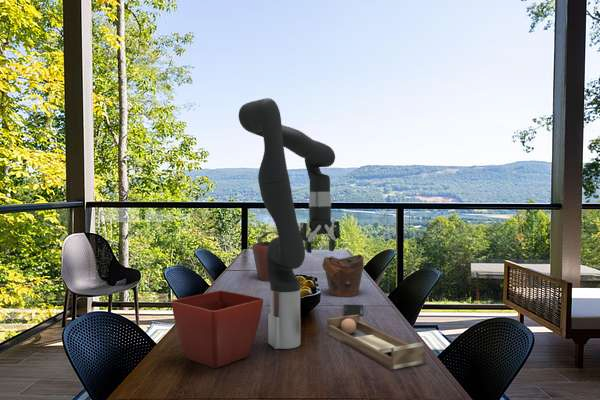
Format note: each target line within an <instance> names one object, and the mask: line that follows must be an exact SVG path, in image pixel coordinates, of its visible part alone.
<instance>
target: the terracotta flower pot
mask: <svg viewBox="0 0 600 400" xmlns="http://www.w3.org/2000/svg"><path fill="white" fill-rule="evenodd" d="M364 265H365V264H364V256H363V254H356V255H354V256H349V257H343V258H342V257H341V258H338V257H335V256H332V255H331V256H329V257H328V256H325V257H324V258H323V262H322V269H323V270H324V271H325V277H326V281H327V282H326V283H327V287H328V291H329V292H328V293H329V295H331V296H335V297H346V298H347V297H355V296H357V295H359V292H360V291H359V290H360V286H361V281H362V275H363V272H364Z"/></svg>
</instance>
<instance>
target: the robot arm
mask: <svg viewBox="0 0 600 400" xmlns="http://www.w3.org/2000/svg"><path fill="white" fill-rule="evenodd" d="M238 121H239V123H240V125H241V127H242V128H243V129H244V130H245V131H247V132H249V133H251V134H253V135H256V136H259V137H261V138H263V143H264V144H263V145H264V148H263V149H264V152H263V156H262V158H261V159H262V160H261V162H260V166H259V169H258V174H257V181H258V187H259V192H260V196H261V199H262V201H263V202H262V203H263V205H264V207H265V208H266V210H267V211H268V214H269V215H270V217H271V218H272V220H273V223H274V225H275V227H276V232H278V235H277V237H274V238H273V239H272V240H270V241H269V242H270V244H269V246H268V250H267V270H268V280H269V281H268V282H269V284H270V285H269V287H270V288H269V289H270V312H269V313H268V314H267V322H268V325H267V329H268V330H267V331H268V332H267V343H268V345H270V346H271V347H272V348H273V349H275V350H278V349H283V350H291V349H294V348H297V347H299V346H300V345H301V281H300V279H299V278H298V277H297V275H295V273H294V270H295V269H298V268H300V267H301V266H302V265H303V263H304V261H305V258H306V253H308V254H311V253H312V251H313V250H312V248H313V247H312V246H313V245H312V242H311V241H312V240H313V238H314V237H315V236H316V235H325V236H327V238H328V239H329V240H328V251H330V252H334V251H335V249H336V240H337V239H340V237H341V230H340V228H341V227H340V221H338V220H333V221H332V220H331V218H332V195H331V179H330V176H329V175H328V174H324V173H322V172H321V169H320V168H327V167H331V166H333V164H334V163H335V161H336V155H335V151H334V149H332V147H331V146H329V145H327V144H326V143H323V142H320V141H317V140H314V139H312V138H311V137H310V136H308V135H307V134H305V133H304V132H302V131H301V130H298V129H296V128H294V127H291V126H287V125H283V124H282V116H281V112H280V107H279V106H278V104H277V102H276V101H275V100H274V99H272V98H269V97H266V98H262V99H257V100H253V101H252V100H251V101H249V102H247V103H244V104H243V105H241V107H240V108H239V111H238ZM285 149H287V150H289V151H290V152H292V153H293V154H295V155H297V156H298V157H300V158H303V159H304V164H305V168H306V172H307V175H308V180H309V195H308V196H309V197H308V212H309V213H308V217H309V218H308V219H309V220H308V222H303V221H302V222H301V223H300V227H299V223H298V219H297V215H296V208H295V204H294V199H293V194H292V186H291V181H290V176H289V172H288V167H287V161H286V155H285V154H286V153H285ZM331 227H332V228H333V229H332V230H333V232H332V230H331ZM308 229H309V231H308V232H307V230H308ZM304 242H305V245H304Z"/></svg>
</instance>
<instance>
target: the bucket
mask: <svg viewBox="0 0 600 400" xmlns="http://www.w3.org/2000/svg"><path fill="white" fill-rule="evenodd" d="M270 234H276V235H277V236H278V231H277V230H275V231H267V232H264V233H262V234H261V235H260V236H259V237H258V238H257V241H256V242H257V243H255V242H254V243H252V253H253V259H254V263H255V268H256V273H257V279H258V280H260V281H262V282H269V280H268V270H267V250H268V246H269V244H270V242H271V241H262V239H265V238H266V237H267V236H268V235H270Z"/></svg>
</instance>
